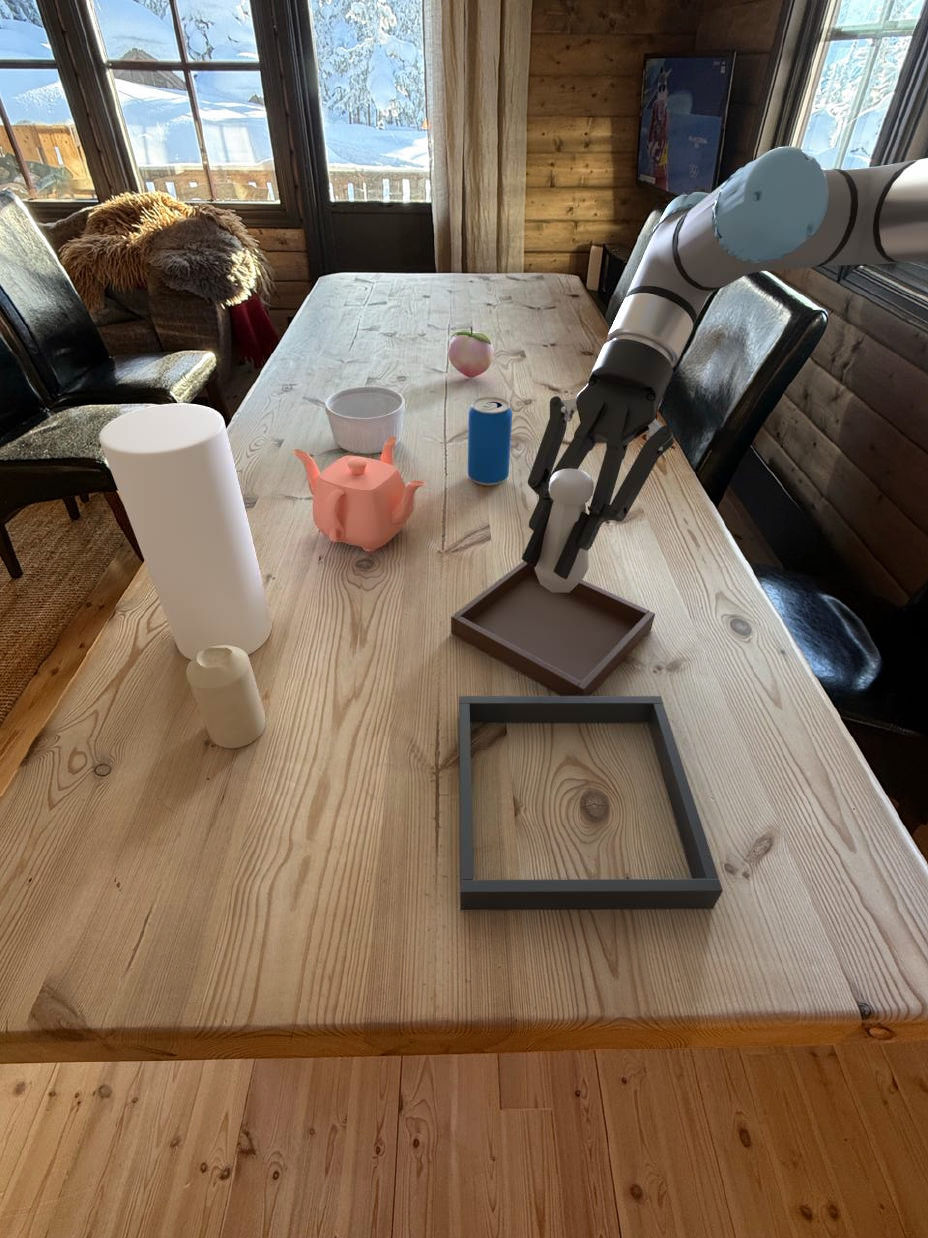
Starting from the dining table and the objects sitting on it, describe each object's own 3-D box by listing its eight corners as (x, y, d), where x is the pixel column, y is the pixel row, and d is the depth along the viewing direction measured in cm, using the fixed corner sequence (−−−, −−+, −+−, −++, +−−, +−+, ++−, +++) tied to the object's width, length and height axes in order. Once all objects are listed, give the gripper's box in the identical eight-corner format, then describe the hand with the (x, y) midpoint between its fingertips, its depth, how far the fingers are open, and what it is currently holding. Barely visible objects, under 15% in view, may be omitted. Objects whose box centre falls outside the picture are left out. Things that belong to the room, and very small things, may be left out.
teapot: (303, 515, 95) (291, 445, 88) (399, 499, 99) (395, 430, 92) (322, 572, 85) (311, 497, 78) (428, 551, 89) (426, 478, 81)
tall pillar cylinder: (290, 632, 76) (245, 427, 60) (204, 678, 70) (129, 466, 54) (242, 590, 82) (189, 393, 65) (159, 630, 76) (79, 425, 60)
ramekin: (413, 453, 110) (411, 413, 105) (333, 462, 107) (328, 421, 103) (399, 420, 120) (397, 382, 115) (326, 427, 117) (321, 389, 113)
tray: (651, 630, 77) (655, 613, 75) (580, 707, 68) (584, 689, 66) (528, 571, 85) (529, 555, 84) (450, 633, 76) (450, 616, 75)
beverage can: (516, 477, 104) (521, 404, 96) (489, 492, 101) (492, 417, 93) (486, 463, 107) (489, 391, 100) (459, 477, 104) (459, 404, 96)
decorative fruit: (499, 374, 137) (502, 323, 131) (484, 387, 132) (486, 336, 125) (458, 367, 140) (459, 317, 134) (442, 380, 135) (441, 329, 128)
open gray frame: (654, 715, 67) (661, 695, 65) (713, 909, 52) (723, 891, 50) (459, 715, 67) (459, 695, 65) (460, 910, 52) (460, 892, 50)
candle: (267, 703, 68) (248, 631, 61) (265, 745, 64) (243, 672, 57) (212, 709, 67) (186, 637, 60) (205, 752, 63) (177, 680, 56)
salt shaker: (543, 560, 75) (554, 455, 66) (591, 573, 73) (610, 467, 64) (524, 589, 71) (534, 481, 62) (575, 604, 69) (592, 495, 60)
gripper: (719, 391, 66) (623, 604, 67) (576, 358, 73) (490, 551, 74) (716, 353, 60) (609, 590, 60) (559, 320, 66) (464, 533, 67)
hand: (544, 568), depth 67 cm, fingers closed on salt shaker, 3 cm apart
